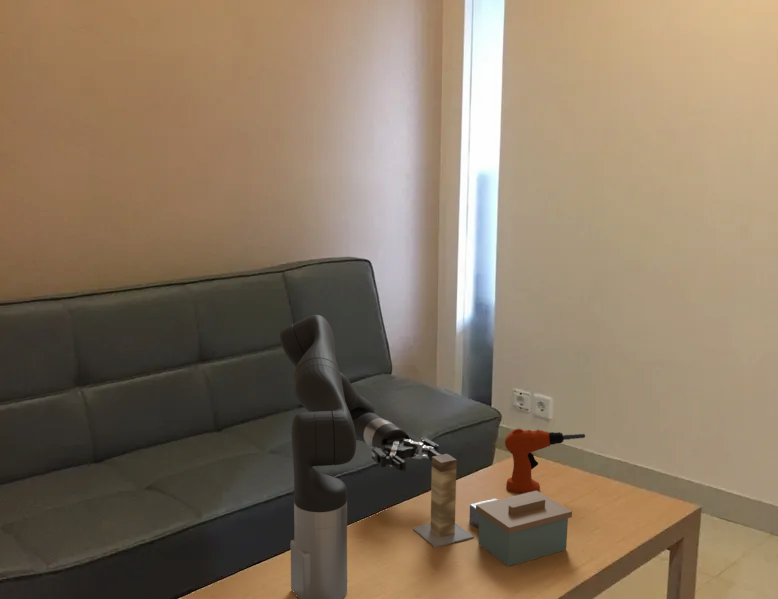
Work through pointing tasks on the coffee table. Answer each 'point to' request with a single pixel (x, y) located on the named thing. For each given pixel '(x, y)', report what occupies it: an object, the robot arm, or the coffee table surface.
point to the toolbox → (523, 527)
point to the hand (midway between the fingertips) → (421, 463)
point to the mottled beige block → (443, 495)
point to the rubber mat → (437, 542)
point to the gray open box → (476, 513)
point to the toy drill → (529, 455)
